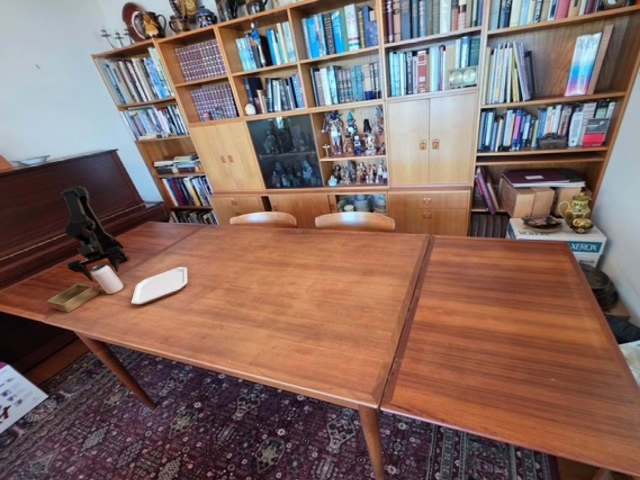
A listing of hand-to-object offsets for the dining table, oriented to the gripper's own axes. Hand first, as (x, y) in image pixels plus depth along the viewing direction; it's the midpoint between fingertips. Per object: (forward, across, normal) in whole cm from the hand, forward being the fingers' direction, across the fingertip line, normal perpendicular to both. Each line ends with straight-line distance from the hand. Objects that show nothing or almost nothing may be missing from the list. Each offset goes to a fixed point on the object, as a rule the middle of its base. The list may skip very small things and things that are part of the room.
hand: (104, 276), depth 125 cm
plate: (+17, +18, -6) cm, 26 cm away
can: (+5, 0, +6) cm, 8 cm away
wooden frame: (+2, -15, +9) cm, 18 cm away
